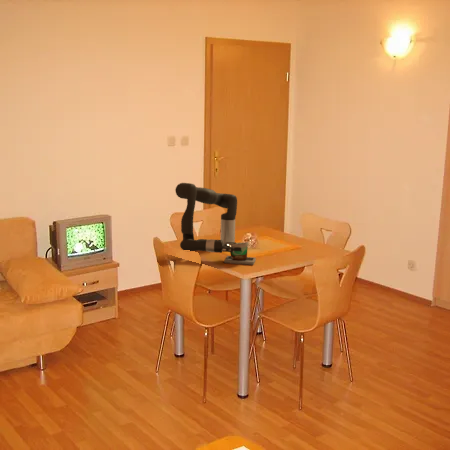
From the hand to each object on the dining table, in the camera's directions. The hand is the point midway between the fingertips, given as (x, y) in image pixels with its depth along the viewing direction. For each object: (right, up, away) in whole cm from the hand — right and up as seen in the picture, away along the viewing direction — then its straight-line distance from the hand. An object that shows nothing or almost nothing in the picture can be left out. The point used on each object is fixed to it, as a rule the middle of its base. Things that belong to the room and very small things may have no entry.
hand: (242, 247), depth 357 cm
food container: (-1, -7, +2) cm, 7 cm away
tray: (-1, -8, +2) cm, 9 cm away
